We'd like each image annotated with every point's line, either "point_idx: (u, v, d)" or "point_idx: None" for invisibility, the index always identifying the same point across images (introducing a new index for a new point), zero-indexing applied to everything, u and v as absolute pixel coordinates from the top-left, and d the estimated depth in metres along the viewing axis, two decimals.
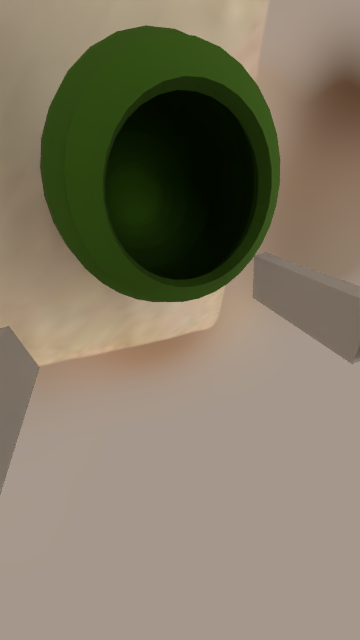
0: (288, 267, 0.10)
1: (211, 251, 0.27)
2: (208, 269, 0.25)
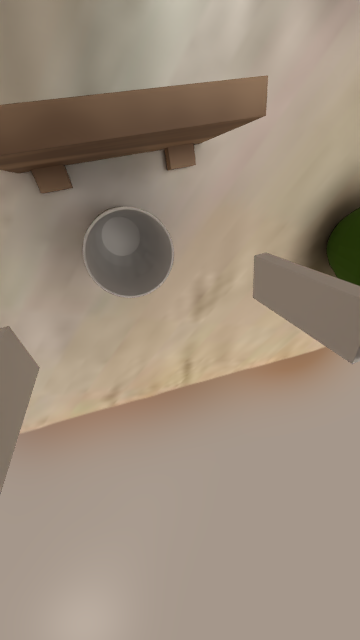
0: (288, 267, 0.10)
1: None
2: None
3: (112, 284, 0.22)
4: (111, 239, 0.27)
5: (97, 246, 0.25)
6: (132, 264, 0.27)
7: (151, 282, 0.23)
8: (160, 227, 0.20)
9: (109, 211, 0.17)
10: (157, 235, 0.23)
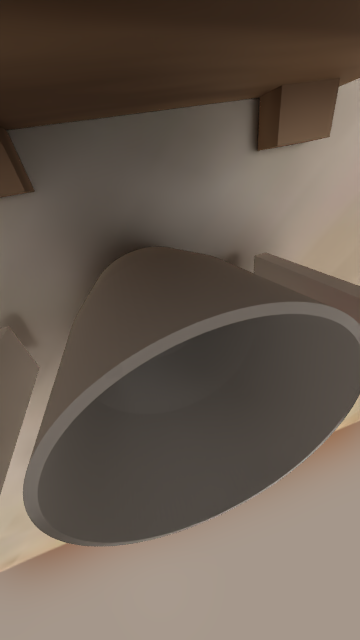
0: (288, 267, 0.10)
1: None
2: None
3: (141, 469, 0.08)
4: None
5: None
6: (171, 352, 0.13)
7: (244, 447, 0.08)
8: (323, 334, 0.06)
9: (171, 340, 0.03)
10: None
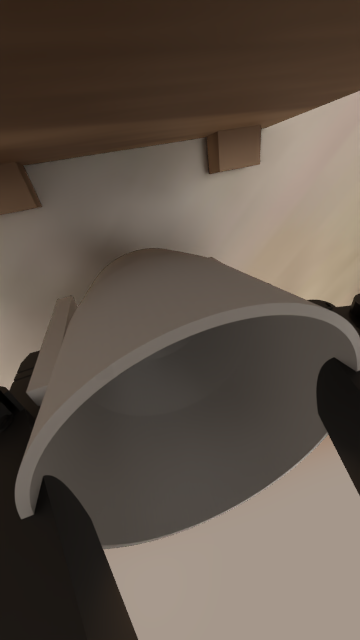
0: None
1: None
2: None
3: (137, 471, 0.08)
4: None
5: None
6: (169, 353, 0.13)
7: (241, 448, 0.08)
8: (317, 335, 0.06)
9: (162, 341, 0.03)
10: None
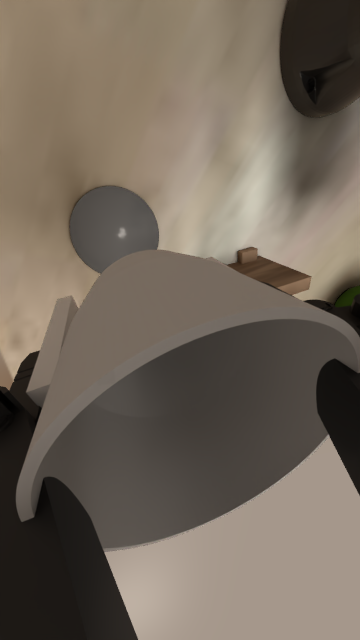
0: None
1: None
2: None
3: (138, 473, 0.08)
4: None
5: None
6: (169, 354, 0.13)
7: (241, 450, 0.08)
8: (319, 337, 0.06)
9: (164, 346, 0.03)
10: None
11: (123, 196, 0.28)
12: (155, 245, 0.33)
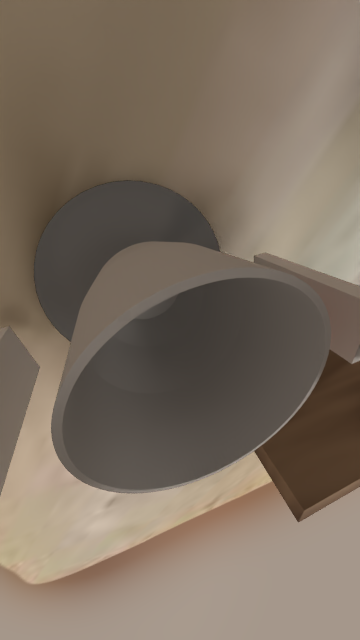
0: (288, 267, 0.10)
1: None
2: None
3: (141, 437, 0.09)
4: None
5: None
6: (168, 341, 0.14)
7: (233, 418, 0.09)
8: (294, 307, 0.07)
9: (166, 293, 0.04)
10: (241, 301, 0.10)
11: (159, 205, 0.12)
12: None
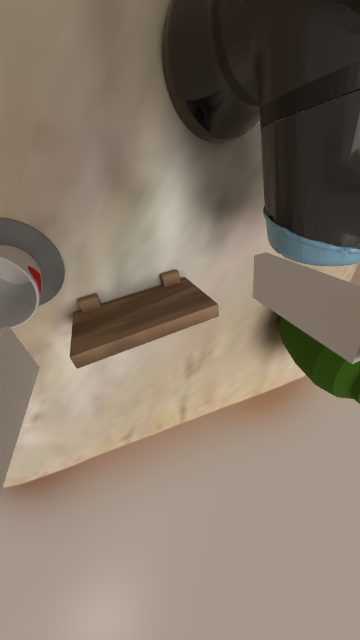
0: (288, 267, 0.10)
1: None
2: None
3: None
4: (5, 269, 0.28)
5: None
6: (26, 293, 0.29)
7: (27, 314, 0.24)
8: None
9: None
10: None
11: (12, 228, 0.27)
12: (61, 274, 0.31)
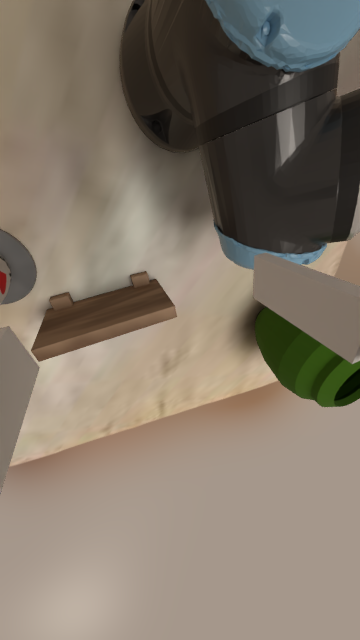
0: (288, 267, 0.10)
1: None
2: None
3: None
4: None
5: None
6: None
7: None
8: None
9: None
10: None
11: None
12: (33, 274, 0.34)
